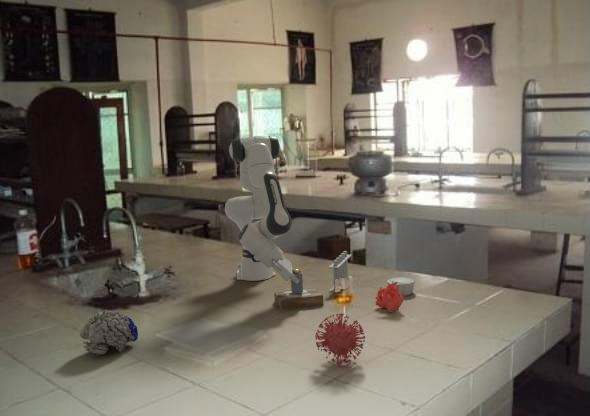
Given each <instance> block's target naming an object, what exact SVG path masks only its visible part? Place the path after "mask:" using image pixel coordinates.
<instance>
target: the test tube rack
mask: <svg viewBox="0 0 590 416" xmlns="http://www.w3.org/2000/svg"><path fill="white" fill-rule="evenodd" d="M351 256H352V254H348V251H346V250H344V251H343V252H342V253H340V255H338V257H336V258H335V259H334V260H333V261H332V263H331V265H329V266H328V269H332V270H333V286H332V287H331V288H330V289H329V290H328V292H329V293H336V292H335V280H336V279H339V278H345V277H346V278H347V277H349V278H352V279H353V276H351V275H349V267H348V266H349V265H348V259H350V258H351Z"/></svg>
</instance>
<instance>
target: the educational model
mask: <svg viewBox="0 0 590 416" xmlns="http://www.w3.org/2000/svg"><path fill="white" fill-rule="evenodd" d="M85 323H86V324H84V326H83V327H82V328H81V329H80V330H79V331H80V332H79V337H80V338H82V339H83V340H87V341H82V344H84V345H83V346H82V347H83V348H84V350H85V351H87V352H90V353H93V354H95V355H96V356H99V355H105V353H107V351H109V346H113V347H114V348H115V349H116V351H118V352H119V353H122V351H124V350H125V349H126V347H128V343H134V342H136V341H137V340H138V339H139V332H138V331H139V330H138V326H137V325H136V324H135V323H134V321H133V319H132V318H130V317H129V316H128V315H125V314H123V313H121V312H119V311H114V310H107V309H103V311H98V312H96V314H95V315H94V316H91V317H90V318H89V319H88V320H87V322H85ZM88 340H89V341H88Z"/></svg>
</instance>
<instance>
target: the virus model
mask: <svg viewBox="0 0 590 416" xmlns="http://www.w3.org/2000/svg"><path fill="white" fill-rule="evenodd" d="M344 315H345V314H344V313H336V314H331V315H329V316H328V317H325V318H324V319H323V320H322V321H321V323H319V324H318V328H320V329H323V330H324V331H325V332H324V331H321V330H319V329H316V332H315V338H314V339H315V340H319V341H315V345H316V347H317V351H321V352H323V351H324V352H325V353H328V355H327V356H326V357H325V359H328V357H329V355H331V354H333V356H332V359H330V360H331V361H332V362H333V363H335V360H337V362H336V365H342V364H343V363H344V364H348V363H350V362H351V359H350V358H352V357H353V360H357V357H359V356H360V354H361V353H362V349H364V347H363V346H364V342H366V335H365V331H364V329H363V327H362V325H361V324H360V323H359V321H358V320H357V319H356V320H353V322H352V324H351V323H349V325H348V324H347V323H348V320H349V318H350V316H348V314H347V315H345V316H344ZM334 316H336V318H335V317H334ZM332 318H333V320H331V319H332ZM343 318H344V320H343ZM328 319H329V320H328ZM324 325H325V326H324ZM361 335H362V336H361ZM320 348H321V349H320ZM359 348H360V349H359ZM353 352H354V353H355V354H353ZM356 356H357V357H356Z"/></svg>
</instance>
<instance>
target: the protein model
mask: <svg viewBox="0 0 590 416" xmlns="http://www.w3.org/2000/svg"><path fill="white" fill-rule="evenodd" d="M397 283H398V282H395V283H394V282H392V284H387V285H386V286H385V287H382V286H380V287H379V290H378V291H377V294H376V296H375V306H378V307H379V308H381V309H387V312H388V313H390V314H391V313H392V312H393V311H399V309H400V307H401V306H402V304H403V302H404V300H405V299H404V296H402V295H400V293H398V292H399V285H397V289H396V287H395V285H396V284H397ZM389 288H390V289H389Z"/></svg>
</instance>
